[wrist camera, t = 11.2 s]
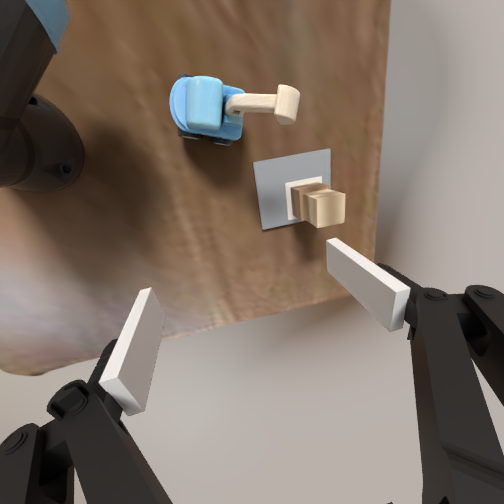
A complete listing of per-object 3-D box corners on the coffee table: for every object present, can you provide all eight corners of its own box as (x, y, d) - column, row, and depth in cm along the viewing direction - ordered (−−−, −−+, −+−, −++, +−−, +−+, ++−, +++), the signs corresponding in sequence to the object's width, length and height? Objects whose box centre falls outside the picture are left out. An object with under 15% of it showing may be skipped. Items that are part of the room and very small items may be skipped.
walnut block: (292, 215, 47) (301, 221, 43) (290, 187, 45) (299, 191, 40) (318, 209, 48) (329, 215, 43) (317, 182, 45) (329, 184, 41)
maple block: (303, 218, 43) (317, 228, 37) (302, 193, 40) (316, 199, 35) (327, 214, 43) (344, 222, 38) (327, 189, 41) (345, 194, 35)
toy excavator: (264, 152, 42) (295, 151, 27) (175, 137, 38) (150, 125, 23) (272, 101, 39) (312, 65, 23) (175, 78, 35) (147, 18, 20)
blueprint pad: (262, 228, 48) (263, 230, 47) (252, 162, 42) (253, 162, 41) (328, 214, 50) (330, 215, 49) (328, 148, 44) (330, 148, 43)
